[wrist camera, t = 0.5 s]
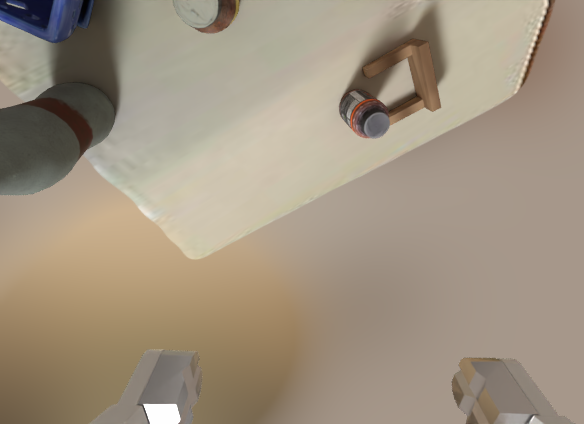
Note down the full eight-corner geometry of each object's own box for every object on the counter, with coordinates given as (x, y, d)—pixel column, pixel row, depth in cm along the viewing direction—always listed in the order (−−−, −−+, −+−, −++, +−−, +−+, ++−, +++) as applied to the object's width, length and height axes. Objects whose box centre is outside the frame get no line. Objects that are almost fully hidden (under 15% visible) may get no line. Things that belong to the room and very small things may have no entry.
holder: (380, 124, 56) (391, 133, 52) (362, 67, 50) (372, 72, 46) (426, 99, 55) (441, 107, 51) (412, 38, 49) (428, 41, 45)
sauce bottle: (225, -37, 40) (213, -66, 24) (247, 14, 44) (250, 19, 28) (183, -13, 41) (144, -26, 25) (208, 35, 45) (188, 51, 28)
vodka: (99, 71, 45) (-67, 147, 21) (130, 129, 51) (25, 243, 26) (40, 86, 45) (-198, 179, 21) (76, 142, 51) (-79, 269, 26)
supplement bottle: (377, 102, 54) (405, 122, 45) (353, 128, 56) (375, 152, 47) (354, 80, 51) (379, 97, 42) (331, 108, 53) (350, 130, 44)
